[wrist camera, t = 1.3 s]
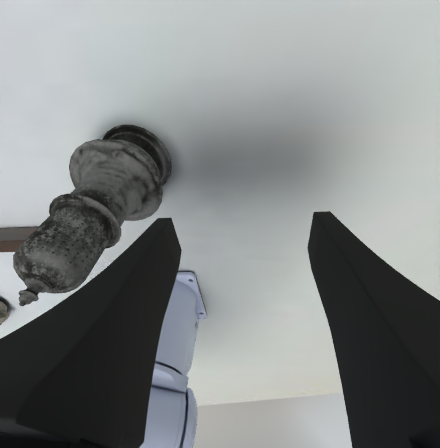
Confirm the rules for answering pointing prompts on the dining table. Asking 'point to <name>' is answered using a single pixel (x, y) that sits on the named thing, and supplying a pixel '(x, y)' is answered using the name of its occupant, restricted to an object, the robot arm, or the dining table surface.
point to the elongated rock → (3, 312)
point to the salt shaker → (93, 209)
